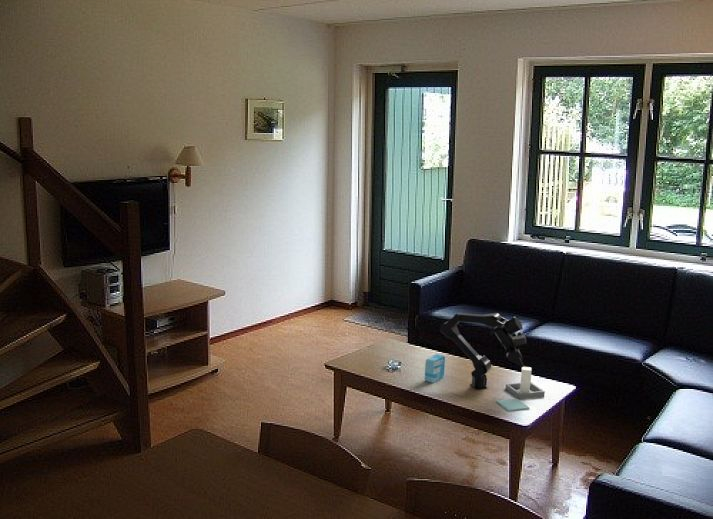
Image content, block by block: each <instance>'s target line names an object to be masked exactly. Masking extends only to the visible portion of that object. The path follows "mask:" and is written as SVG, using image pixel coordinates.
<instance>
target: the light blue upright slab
mask: <svg viewBox="0 0 713 519" xmlns="http://www.w3.org/2000/svg"><path fill="white" fill-rule="evenodd" d="M445 364H446V357H445V355H441V354H434V355H431V356H430V357H428V358H426V360H425V365H424V381H425V382H428V383H431V384H434V383H437V381H440V380H441V379H443V378H444V377H445V366H446V365H445Z"/></svg>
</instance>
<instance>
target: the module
mask: <svg viewBox="0 0 713 519" xmlns="http://www.w3.org/2000/svg"><path fill="white" fill-rule="evenodd" d="M531 380H532V367H530V366H523V367H521V374H520V382H519V383H520V388H519V393H526V392H531V388H530V382H531V383H532V381H531Z"/></svg>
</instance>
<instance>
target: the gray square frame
mask: <svg viewBox="0 0 713 519" xmlns="http://www.w3.org/2000/svg"><path fill="white" fill-rule="evenodd" d="M520 383H521V382H513V383H505V390H506V391H507V392H509V393H510V394H512V395H513V396H514V397H516V399H519V400H523V399H531V398H533V399H534V398H541V397H542V398H544V397H545V393H546V392H545V390H543V389H542V388H540V387H539V386H537V385H536V384H534V383H533V382H532V381H531V382H530V390H532V391H530V392H526V393H520V391H518V390H517V389H516V388H518V389H520Z"/></svg>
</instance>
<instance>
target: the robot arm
mask: <svg viewBox="0 0 713 519" xmlns="http://www.w3.org/2000/svg"><path fill="white" fill-rule="evenodd" d="M460 322H462V323H463V322H465V323H475V324H482V325H484V326H486V327H489V328H491V329H490V333H489V334H490V335H494V334H495V336H496V337H497V339H498V340H499V342H500V344H501V346H503V347H504V349H505V352H506V359H507V360H508V361H509V362H512V363H514V364H516V365H518V366H519V367H521V368H522V367H524V363H523V361H522V360H523V359H524V358H523V355H522V353H521V351H520V349H519V348H520V345H526V344H527V338H526V334H524V333H522V332H521V330H523V329H524V328H523V323H522V322H521V321H520V320H519V319H518V318H517V317H516V316H512V317H511V318H510V319H507V318H504V317H502V316H501V315H500V313H498V312H492V313H486V314H479V313H478V314H477V313H465V312H461V311H460V312H457V313H455V314H453V317H451V318H450V319H449V320H448V321H446V322H444V323H442V324H441V326H440V333H441V334H442V335H444V336H445V337H446V338H448V339H450V340H452V341H453V342H454V343H455V344H456V346H458V347H459V349H460V350H461V351H462V352H463V354H465V355H466V356H467V358H468V359H470V361H471V362H472V365H473V368H474V370H473V371H471V383H470V384H469V385H470V386H471V387H473V388H474V389H475V390H482V389H483V390H484V389H488V387H487V385H488V384H487V382H488V378H487V375H486V374H488V373H489V372H490V371H491V369H492V363H491V360H489V358H488V357H487V356H486V355H483V356H482V355H481V354H480V355H479V353H478V352H477V351H476V350H475V349H474V348H473V347H472V346H471V344H470V343H469V342H468V341H467V340H466V339H465V338H464V336H463V335H461V333H460V331H459V328H458V326H457V325H459V323H460ZM515 333H517V334H516V335H515V336H513V335H514V334H515Z"/></svg>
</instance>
